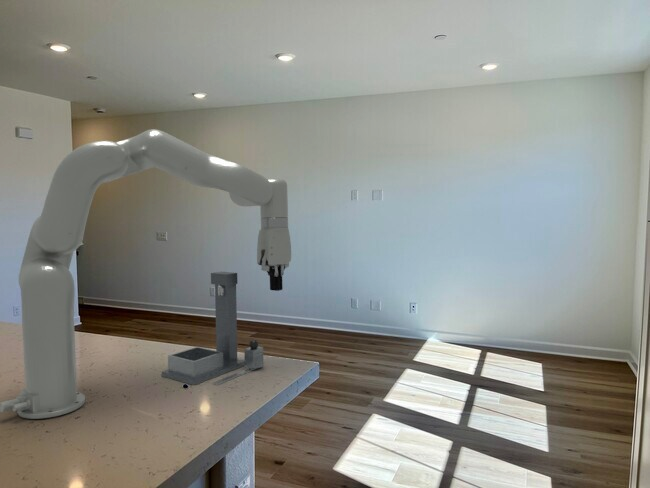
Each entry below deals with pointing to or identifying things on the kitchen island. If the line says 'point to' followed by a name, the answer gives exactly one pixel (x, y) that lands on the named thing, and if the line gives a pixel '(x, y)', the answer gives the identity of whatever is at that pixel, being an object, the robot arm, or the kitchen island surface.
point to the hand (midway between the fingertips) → (276, 289)
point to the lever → (253, 355)
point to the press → (211, 363)
